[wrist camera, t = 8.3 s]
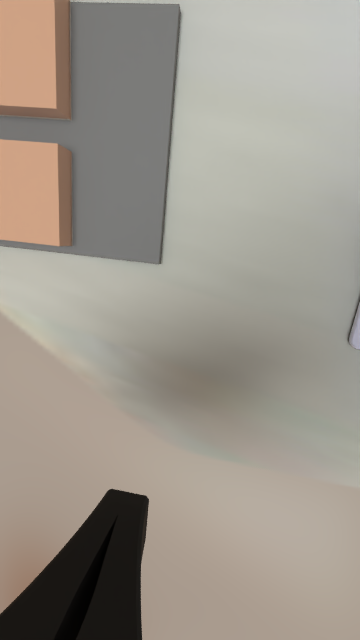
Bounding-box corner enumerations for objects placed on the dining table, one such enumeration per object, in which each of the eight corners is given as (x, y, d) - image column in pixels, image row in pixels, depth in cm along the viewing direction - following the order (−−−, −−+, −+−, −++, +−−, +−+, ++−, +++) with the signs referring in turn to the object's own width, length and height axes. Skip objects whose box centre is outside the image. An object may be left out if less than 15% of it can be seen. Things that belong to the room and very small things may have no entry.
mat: (180, 12, 14) (179, 4, 13) (160, 263, 17) (158, 264, 17) (-44, 7, 15) (-53, 0, 14) (-22, 242, 18) (-28, 242, 18)
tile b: (57, 143, 14) (-51, 135, 15) (59, 246, 16) (-40, 235, 16) (72, 152, 16) (-27, 144, 16) (72, 245, 17) (-19, 235, 18)
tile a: (53, -25, 12) (-70, -26, 13) (56, 108, 14) (-55, 101, 14) (70, 2, 14) (-42, 0, 14) (71, 120, 15) (-30, 114, 16)
